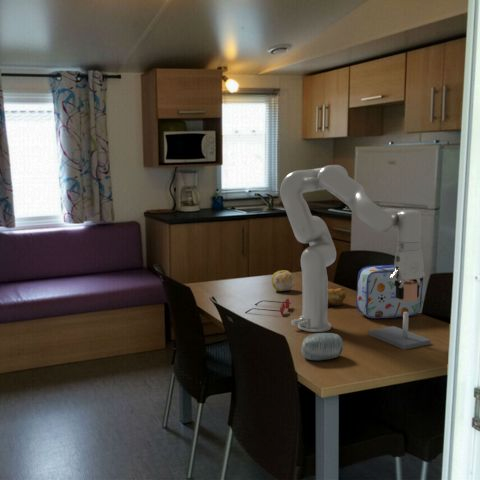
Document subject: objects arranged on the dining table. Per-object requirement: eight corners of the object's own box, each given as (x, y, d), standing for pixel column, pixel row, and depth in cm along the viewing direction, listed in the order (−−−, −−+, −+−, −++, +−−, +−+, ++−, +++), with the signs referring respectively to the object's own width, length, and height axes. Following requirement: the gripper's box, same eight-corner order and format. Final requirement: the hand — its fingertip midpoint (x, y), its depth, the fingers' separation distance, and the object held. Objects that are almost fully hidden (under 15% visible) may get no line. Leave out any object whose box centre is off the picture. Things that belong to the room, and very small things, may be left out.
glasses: (282, 317, 233) (282, 305, 232) (244, 314, 239) (244, 302, 238) (291, 308, 246) (291, 297, 245) (254, 305, 252) (254, 294, 251)
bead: (406, 302, 195) (407, 285, 194) (393, 298, 201) (394, 281, 200) (420, 300, 198) (421, 283, 197) (407, 296, 204) (407, 279, 203)
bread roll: (322, 309, 244) (322, 290, 243) (311, 303, 253) (311, 285, 252) (348, 306, 248) (348, 288, 247) (337, 300, 257) (337, 283, 256)
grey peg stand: (404, 349, 194) (405, 318, 192) (368, 334, 209) (369, 305, 208) (430, 343, 199) (431, 313, 198) (393, 329, 215) (394, 301, 213)
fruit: (267, 290, 277) (267, 269, 276) (287, 287, 282) (287, 267, 280) (277, 294, 268) (278, 273, 267) (297, 292, 273) (298, 271, 271)
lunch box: (412, 309, 242) (414, 258, 239) (426, 316, 233) (429, 263, 229) (353, 315, 235) (354, 262, 231) (365, 322, 225) (367, 267, 221)
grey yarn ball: (338, 340, 193) (336, 320, 187) (348, 362, 186) (346, 341, 179) (299, 351, 192) (296, 331, 186) (307, 373, 185) (304, 353, 179)
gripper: (397, 250, 189) (396, 302, 192) (435, 245, 197) (433, 296, 200) (381, 246, 196) (380, 298, 198) (419, 242, 204) (417, 291, 206)
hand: (407, 296), depth 199 cm, fingers closed on bead, 6 cm apart
